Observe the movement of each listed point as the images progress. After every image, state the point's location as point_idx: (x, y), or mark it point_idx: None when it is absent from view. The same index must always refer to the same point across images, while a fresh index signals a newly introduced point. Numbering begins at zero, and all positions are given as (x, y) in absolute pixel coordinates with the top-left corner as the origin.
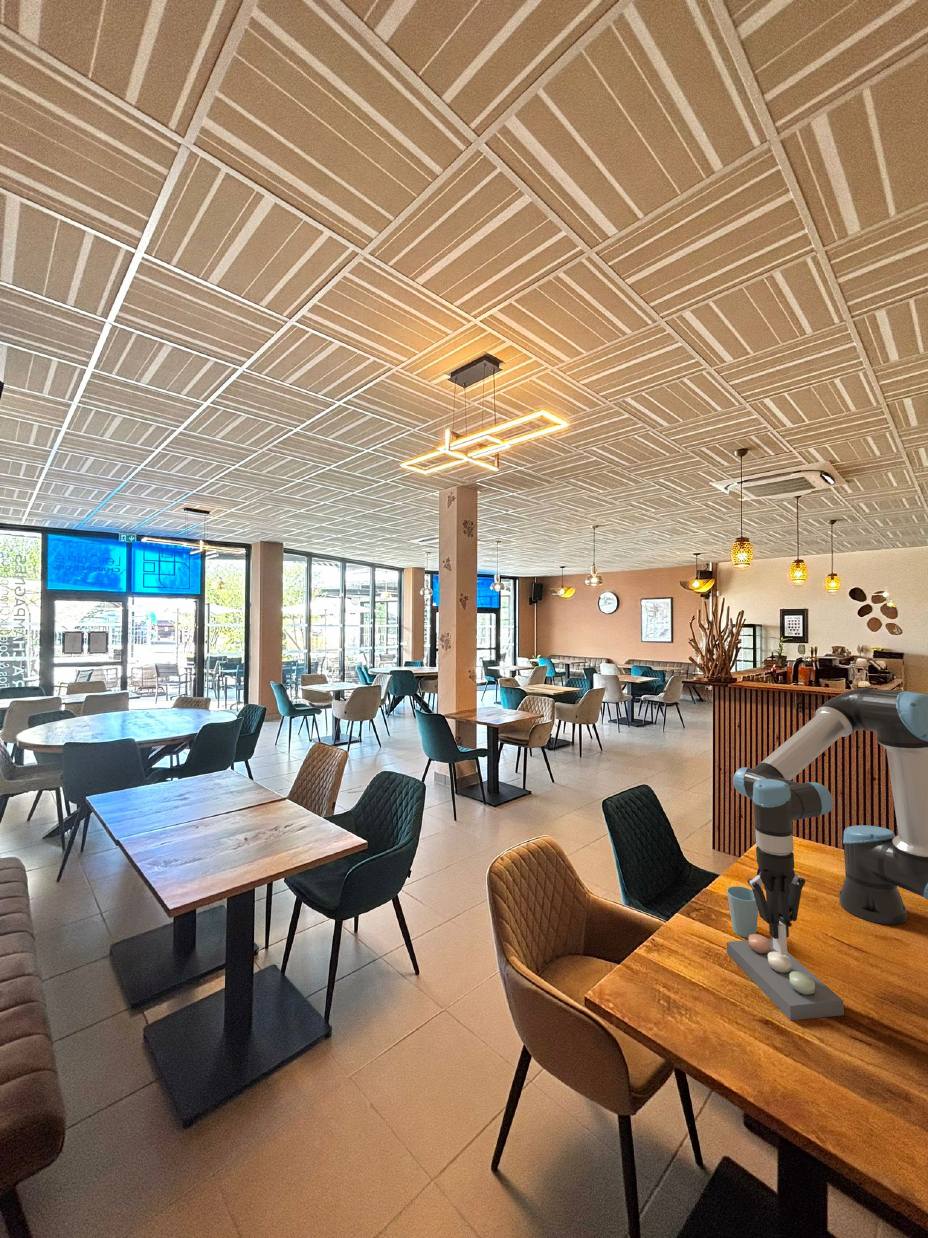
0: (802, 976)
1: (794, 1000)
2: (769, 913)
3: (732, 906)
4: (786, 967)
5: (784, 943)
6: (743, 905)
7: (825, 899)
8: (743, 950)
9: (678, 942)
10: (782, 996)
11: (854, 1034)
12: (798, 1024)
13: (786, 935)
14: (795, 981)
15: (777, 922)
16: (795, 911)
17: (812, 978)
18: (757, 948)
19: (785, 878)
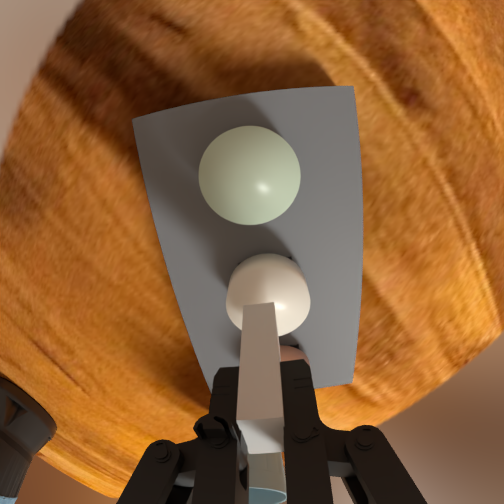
0: (238, 190)
1: (319, 110)
2: (370, 492)
3: (283, 469)
4: (262, 263)
5: (253, 340)
6: (264, 475)
7: (73, 436)
8: (331, 357)
9: (420, 378)
10: (352, 134)
11: (170, 43)
12: (322, 75)
13: (229, 376)
14: (293, 155)
15: (299, 441)
16: (141, 495)
17: (199, 178)
18: (300, 358)
19: None
